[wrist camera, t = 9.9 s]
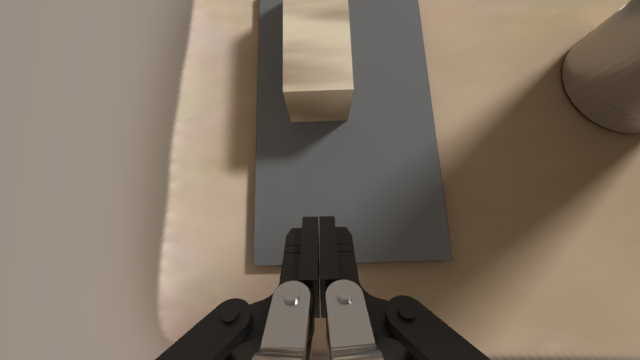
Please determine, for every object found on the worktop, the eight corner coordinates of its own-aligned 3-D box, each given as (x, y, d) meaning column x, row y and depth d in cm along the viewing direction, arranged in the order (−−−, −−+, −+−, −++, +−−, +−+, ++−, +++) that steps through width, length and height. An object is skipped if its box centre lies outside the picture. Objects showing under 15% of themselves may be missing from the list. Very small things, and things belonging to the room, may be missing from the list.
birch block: (291, 122, 22) (290, -3, 24) (347, 120, 22) (340, -5, 24) (282, 91, 17) (283, -57, 20) (353, 89, 17) (344, -59, 20)
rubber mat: (261, -6, 25) (260, -12, 25) (413, -12, 25) (415, -18, 25) (255, 265, 20) (253, 265, 19) (448, 259, 20) (452, 260, 19)
